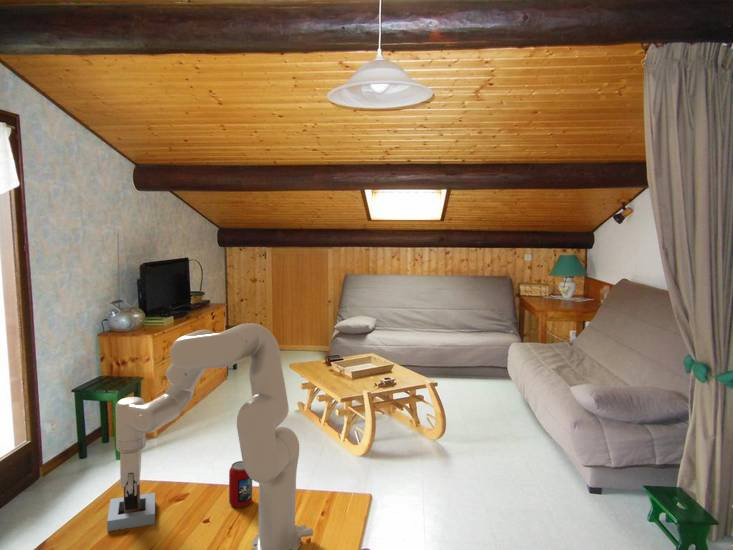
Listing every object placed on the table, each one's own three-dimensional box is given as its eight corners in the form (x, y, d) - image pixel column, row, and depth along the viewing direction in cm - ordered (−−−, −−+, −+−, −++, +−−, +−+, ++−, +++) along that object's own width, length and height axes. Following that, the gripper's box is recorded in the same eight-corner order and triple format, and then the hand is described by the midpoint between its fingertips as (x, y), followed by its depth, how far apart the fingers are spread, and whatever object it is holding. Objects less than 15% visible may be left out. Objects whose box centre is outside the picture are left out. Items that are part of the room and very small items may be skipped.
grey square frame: (155, 502, 163) (155, 492, 163) (154, 523, 152) (154, 513, 152) (110, 508, 159) (110, 498, 158) (107, 531, 148) (107, 521, 147)
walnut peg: (140, 511, 158) (139, 475, 157) (139, 518, 154) (139, 481, 153) (125, 513, 156) (124, 477, 155) (124, 521, 153) (123, 483, 151)
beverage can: (246, 510, 160) (246, 471, 159) (225, 507, 161) (225, 468, 160) (255, 498, 167) (256, 461, 165) (235, 495, 168) (235, 458, 167)
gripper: (118, 431, 159) (119, 487, 161) (114, 457, 143) (115, 518, 145) (146, 428, 162) (147, 483, 164) (144, 453, 146) (145, 513, 148)
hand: (132, 499), depth 155 cm, fingers open, 9 cm apart
